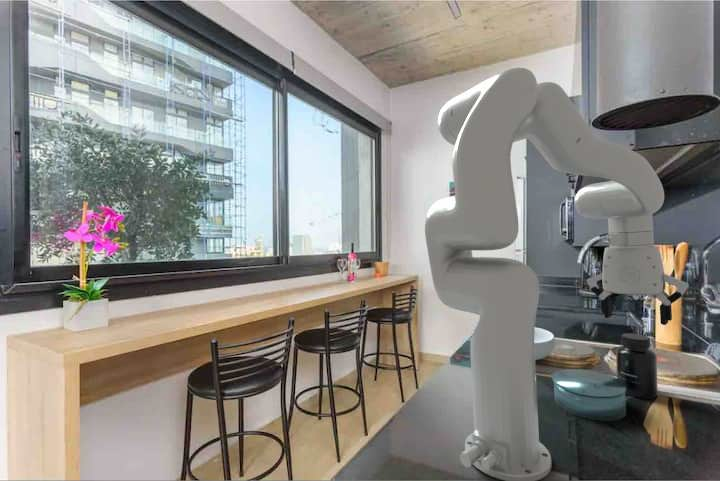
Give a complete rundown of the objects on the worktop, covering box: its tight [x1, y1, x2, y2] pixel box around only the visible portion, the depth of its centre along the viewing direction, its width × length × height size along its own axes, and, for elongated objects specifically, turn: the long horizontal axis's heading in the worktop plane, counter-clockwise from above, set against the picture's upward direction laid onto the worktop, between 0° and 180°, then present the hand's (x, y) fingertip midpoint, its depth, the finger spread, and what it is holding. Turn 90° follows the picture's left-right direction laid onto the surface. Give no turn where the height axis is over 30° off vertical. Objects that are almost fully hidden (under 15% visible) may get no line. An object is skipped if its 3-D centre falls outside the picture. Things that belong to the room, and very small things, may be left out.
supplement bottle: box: [615, 333, 658, 399], centre depth 74 cm, size 7×7×12 cm
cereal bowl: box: [534, 326, 556, 362], centre depth 98 cm, size 17×17×7 cm
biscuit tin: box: [551, 368, 627, 422], centre depth 70 cm, size 12×12×5 cm
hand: (635, 319), depth 74 cm, fingers open, 9 cm apart
